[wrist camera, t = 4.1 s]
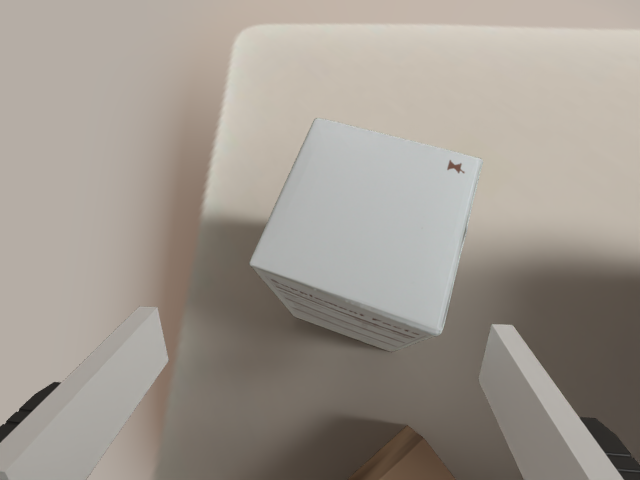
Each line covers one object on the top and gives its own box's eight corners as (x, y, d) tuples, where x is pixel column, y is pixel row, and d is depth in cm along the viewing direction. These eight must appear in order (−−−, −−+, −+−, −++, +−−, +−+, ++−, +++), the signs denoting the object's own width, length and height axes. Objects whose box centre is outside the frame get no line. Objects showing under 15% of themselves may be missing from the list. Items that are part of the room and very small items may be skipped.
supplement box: (327, 227, 26) (315, 108, 15) (422, 258, 25) (492, 154, 13) (290, 318, 24) (240, 263, 12) (392, 357, 23) (447, 339, 11)
